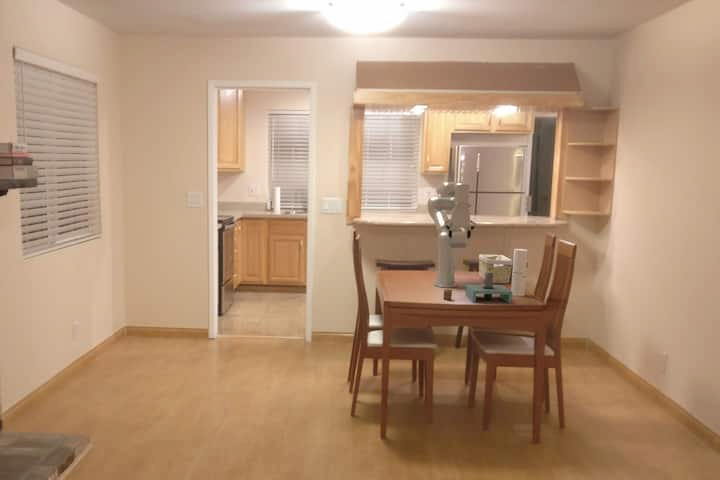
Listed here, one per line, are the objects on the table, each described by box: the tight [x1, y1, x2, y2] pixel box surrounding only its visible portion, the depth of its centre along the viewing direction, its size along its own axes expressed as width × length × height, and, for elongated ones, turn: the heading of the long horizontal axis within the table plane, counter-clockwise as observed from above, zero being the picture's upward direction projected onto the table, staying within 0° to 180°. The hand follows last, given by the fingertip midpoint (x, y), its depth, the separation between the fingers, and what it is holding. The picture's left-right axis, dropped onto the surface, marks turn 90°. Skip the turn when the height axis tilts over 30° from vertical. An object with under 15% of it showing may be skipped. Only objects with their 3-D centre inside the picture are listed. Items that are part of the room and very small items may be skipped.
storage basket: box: [478, 253, 513, 284], centre depth 348 cm, size 24×16×15 cm
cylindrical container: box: [510, 248, 529, 297], centre depth 306 cm, size 7×7×25 cm
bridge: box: [465, 283, 513, 304], centre depth 293 cm, size 16×20×6 cm
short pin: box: [443, 288, 453, 301], centre depth 289 cm, size 4×4×5 cm
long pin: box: [483, 272, 494, 301], centre depth 293 cm, size 4×4×14 cm
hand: (459, 238), depth 302 cm, fingers open, 9 cm apart
